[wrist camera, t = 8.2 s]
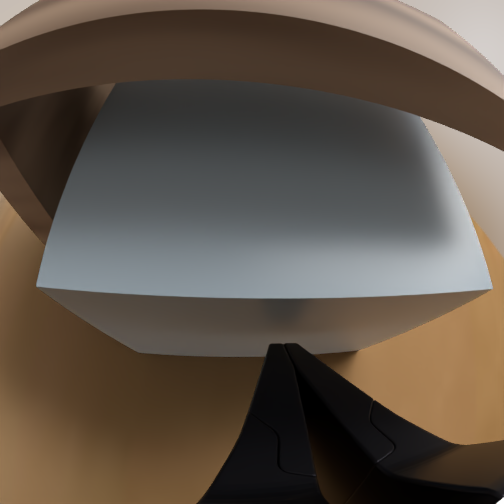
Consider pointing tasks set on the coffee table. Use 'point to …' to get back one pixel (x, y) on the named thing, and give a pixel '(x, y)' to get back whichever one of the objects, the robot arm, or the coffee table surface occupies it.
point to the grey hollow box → (258, 222)
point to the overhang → (219, 70)
